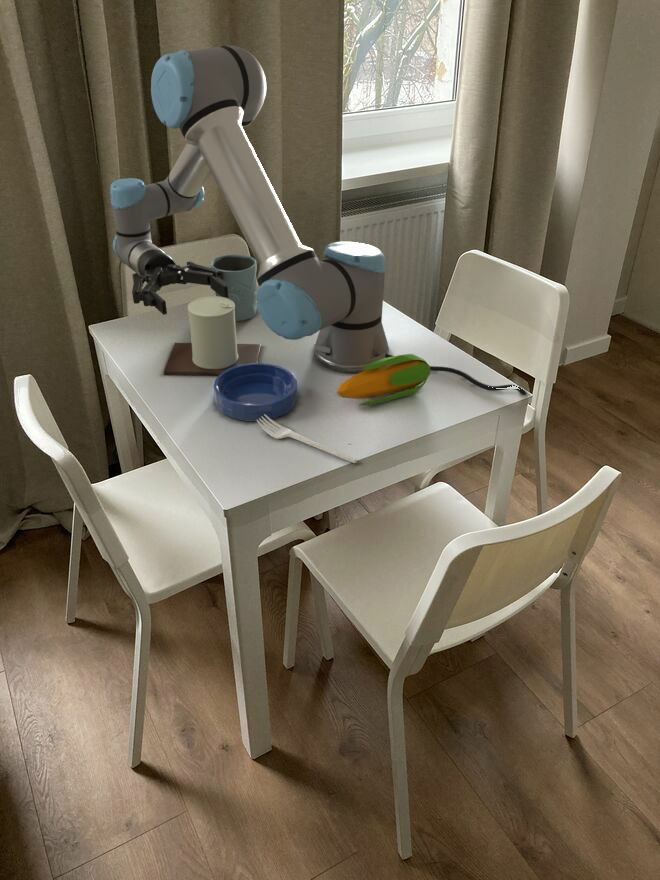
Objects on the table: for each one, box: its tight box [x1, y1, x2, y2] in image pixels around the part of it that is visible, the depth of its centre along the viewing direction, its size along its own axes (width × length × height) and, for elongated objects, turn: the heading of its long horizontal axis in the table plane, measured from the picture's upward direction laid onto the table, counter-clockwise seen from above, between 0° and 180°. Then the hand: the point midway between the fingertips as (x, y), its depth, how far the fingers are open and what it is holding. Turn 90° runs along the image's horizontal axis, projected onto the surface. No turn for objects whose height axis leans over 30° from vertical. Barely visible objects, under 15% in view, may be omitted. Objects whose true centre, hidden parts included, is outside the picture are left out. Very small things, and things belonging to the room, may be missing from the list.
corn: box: [336, 353, 431, 407], centre depth 139 cm, size 7×8×20 cm
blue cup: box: [210, 253, 258, 322], centre depth 167 cm, size 10×10×12 cm
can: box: [186, 295, 238, 369], centre depth 147 cm, size 9×9×12 cm
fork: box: [256, 414, 358, 464], centre depth 128 cm, size 3×20×2 cm, turn 56°
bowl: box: [213, 362, 298, 422], centre depth 139 cm, size 15×15×4 cm
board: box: [163, 342, 262, 377], centre depth 151 cm, size 18×12×1 cm, turn 89°
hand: (196, 300), depth 150 cm, fingers open, 13 cm apart
